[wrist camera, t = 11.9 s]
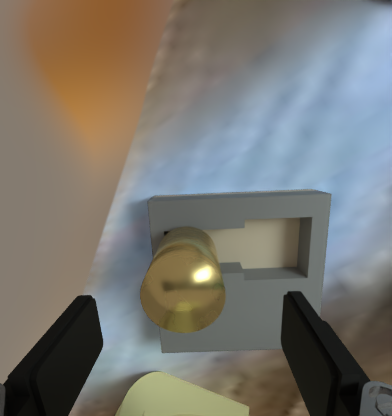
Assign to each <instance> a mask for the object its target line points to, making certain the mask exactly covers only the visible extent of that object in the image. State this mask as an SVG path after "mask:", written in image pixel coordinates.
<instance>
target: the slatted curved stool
mask: <svg viewBox="0 0 392 416" xmlns="http://www.w3.org/2000/svg"><path fill="white" fill-rule="evenodd" d="M115 416H249V407H248V406H246V405H243V404H241V403H238V402H236V401H233V400H231V399H228V398H226V397H223V396H221V395H218V394H216V393H214V392H211V391H209V390H206V389H204V388H201V387H199V386H196V385H194V384H191V383H189V382H186V381H184V380H181V379H179V378H176V377H174V376H171V375H169V374H166V373H164V372H152V373H149V374H146V375H145V376H143V377H141V378H140V379H139V380H138V381H136V382H135V383H134V385H133V386H132V387H131V388H130V389H129V391H128V392H127V394H126V396H125V398H124V400H123V401H122V403H121V405H120V407H119V409H118V410H117V413H116V414H115Z"/></svg>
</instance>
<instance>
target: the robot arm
mask: <svg viewBox="0 0 392 416" xmlns="http://www.w3.org/2000/svg"><path fill="white" fill-rule="evenodd" d="M281 346H282V349H283V351H284V354H285V356H286V359H287V361H288V363H289V366H290V368H291V371H292V373H293V376H294V378H295V380H296V383H297V385H298V388H299V390H300V393H301V395H302V397H303V400H304V402H305V405H306V407H307V410H308V412H309V414H310V416H392V386H391V385H388V384H386V383H383V382H378V381H370V379H369V378H368V377H367V375H366V374H365V373H364V371H363V370H362V369H361V367H360V366H359V365H358V363H357V362H356V360H355V359H354V358H353V356H352V355H351V354H350V352H349V351H348V350H347V348H346V347H345V346H344V344H343V343H342V342H341V340H340V339H339V338H338V336H337V335H336V333H335V332H334V331H333V329H332V328H331V327H330V325H329V324H328V323H327V322H326V321H322V320H321V318H320V317H319V316H318V314H317V313H316V311H315V310H314V309H313V307H312V306H311V304H310V303H309V302H308V300H307V299H306V297H305V296H304V295H303V293H302V292H301V291H288V292H287V294H285V295H284V296H283V310H282V325H281ZM102 347H103V338H102V332H101V327H100V322H99V316H98V311H97V306H96V301H95V299H94V298H92V296H91V295H81V296H77V297H76V298H75V300H74V301H73V302H72V303H71V304H70V305H69V306H68V308H67V309H66V310H65V311H64V312H63V313H62V315H61V316H60V317H59V318H58V319H57V320H56V322H55V323H54V324H53V325H52V326H51V327H50V328H49V329H48V331H47V332H46V333H45V334H44V335H43V337H42V338H41V339H40V340H39V341H38V342H37V343H36V344H35V346H34V347H33V348H32V349H31V350H30V351H29V353H28V354H27V355H26V356H25V357H24V358H23V359H22V361H21V362H20V363H19V364H18V365H17V366H16V367H15V369H14V370H13V371H12V372H11V373H10V374H9V376H8V379H7V380H6V382H5V383H4V384H3V385H2V384H1V383H0V416H68V415H69V413H70V411H71V409H72V407H73V405H74V403H75V401H76V399H77V397H78V395H79V394H80V392H81V390H82V388H83V386H84V384H85V382H86V380H87V378H88V376H89V374H90V372H91V370H92V368H93V366H94V364H95V362H96V360H97V358H98V356H99V354H100V352H101V350H102Z"/></svg>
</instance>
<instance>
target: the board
mask: <svg viewBox="0 0 392 416" xmlns="http://www.w3.org/2000/svg"><path fill="white" fill-rule="evenodd" d="M330 205H331V194H330V193H326V192H322V191H318V190H313V189H303V190H279V191H256V192H232V193H209V194H185V195H161V196H154V197H153V198H151V199H150V200H149V201H148V211H149V222H150V233H151V243H152V254H153V258H154V256H155V253H156V251H157V249H158V247H159V244H160V242H161V240H162V239H163V237H164V236H165V235H166V234H167V233H169V232H170V231H172V230H173V229H176V228H179V227H185V226H190V227H195V228H198V229H201V230H202V231H204V232H205V233H207V234H208V235H209V236H210V237H211V239H212V240H213V242H214V244H215V247H216V251H217V255H218V260H219V264H220V269H221V273H222V278H223V282H224V287H225V293H226V300H225V305H224V308H223V310H222V312H221V314H220V315H219V317H218V318H217V319H216V320H215V321H214V322H213V323H212V324H211V325H209V326H208V327H206V328H204V329H202V330H199V331H196V332H191V333H176V332H172V331H168V330H165V329H163V328H161V327H159V329H160V339H161V350H162V353H179V352H208V351H238V350H268V349H282V346H281V325H282V310H283V296H284V295H285V294H287V292H288V291H301V292H302V293H303V295H304V296H305V297H306V299H307V300H308V302H309V303H310V304H311V306H312V307H313V309H314V310H315V311H316V313H317V314H318V316H319V317H320V310H321V299H322V289H323V278H324V268H325V257H326V247H327V236H328V226H329V215H330Z"/></svg>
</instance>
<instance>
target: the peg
mask: <svg viewBox="0 0 392 416" xmlns="http://www.w3.org/2000/svg"><path fill="white" fill-rule="evenodd" d="M140 299H141V304H142V307H143V309H144V311H145V313H146V314H147V316H148V317H149V318H150V319H151V320H152V321H153V322H154V323H155V324H156V325H158V326H159V327H161V328H163V329H165V330H168V331H172V332H176V333H191V332H196V331H199V330H202V329H204V328H206V327H208V326H209V325H211V324H212V323H213V322H214V321H215V320H216V319H217V318H218V317H219V315H220V314H221V312H222V310H223V308H224V305H225V300H226V293H225V287H224V282H223V278H222V273H221V269H220V264H219V260H218V255H217V251H216V247H215V244H214V242H213V240H212V239H211V237H210V236H209V235H208V234H207V233H205V232H204V231H202V230H201V229H198V228H195V227H190V226H185V227H179V228H176V229H173V230H172V231H170V232H169V233H167V234H166V235H165V236H164V237H163V239H162V240H161V242H160V244H159V247H158V249H157V251H156V253H155V256H154V258H153V260H152V262H151V265H150V267H149V269H148V271H147V274H146V276H145V278H144V280H143V283H142V286H141V291H140Z"/></svg>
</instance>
